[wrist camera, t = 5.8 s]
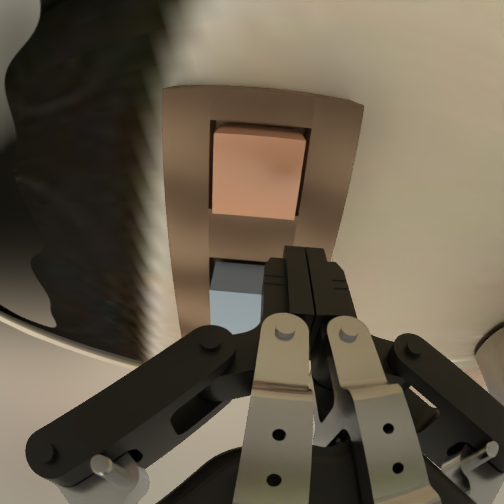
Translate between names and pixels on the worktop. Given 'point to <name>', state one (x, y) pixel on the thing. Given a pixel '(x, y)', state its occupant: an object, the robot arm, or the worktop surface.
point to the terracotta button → (257, 170)
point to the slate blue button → (236, 296)
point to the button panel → (248, 227)
